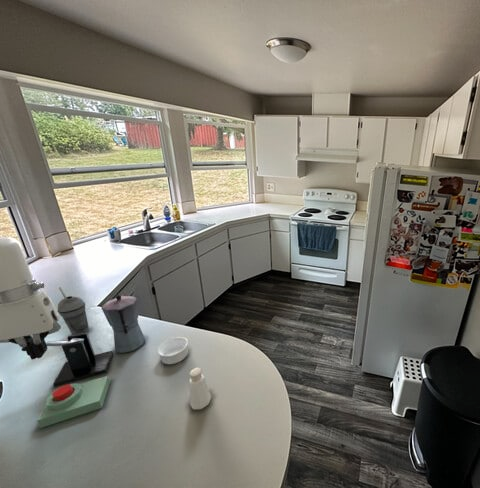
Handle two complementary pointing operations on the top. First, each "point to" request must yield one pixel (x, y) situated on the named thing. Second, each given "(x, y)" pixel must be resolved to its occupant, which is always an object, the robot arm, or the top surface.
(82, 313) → the beverage cup
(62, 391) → the stop button
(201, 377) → the pepper shaker
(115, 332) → the moka pot
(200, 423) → the top surface
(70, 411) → the control block
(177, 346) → the ramekin
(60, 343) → the lever
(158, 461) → the top surface
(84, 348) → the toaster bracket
